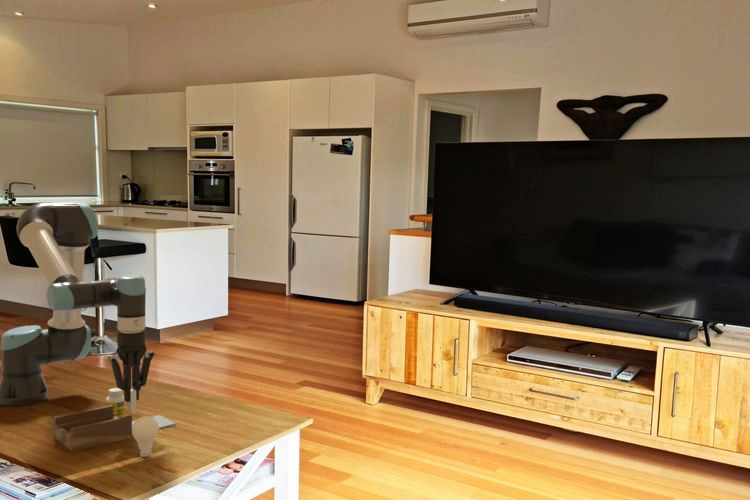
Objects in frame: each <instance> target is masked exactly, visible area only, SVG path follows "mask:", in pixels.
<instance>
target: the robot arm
mask: <svg viewBox="0 0 750 500" xmlns="http://www.w3.org/2000/svg"><path fill="white" fill-rule="evenodd" d="M98 223H99V222H98V218H97V213H96V212H95V210H94V208H93V207H92V206H91V205H90V204H88V203H82V202H38V203H35V204H32V205H30V206H29V207H27V208H25V210H24V211H23V212H22V213H21V215H20V216H19V218H18V220H17V224H16V233H17V237H18V239H19V241H20V243H21V244H22V245H23V246H24V247H26V248H28V250H29V251H30V253H31V255H32V257H33V259H34V260H35V262H36V264H37V266H38V268H39V270H40V271H41V273H42V275H43V277H44V279H45V281H46V282H47V284H48V287H47V289H46V300H47V305H48V308H50V309H51V310H52V317H51V318H50V319H49V320H47V327H46V328H44V329H42V327H41V326H40V325H38V324H37V325H36V324H33V325H32V324H31V325H24V326H18V327H14V328H11V329H9V330H6V331H5V332H4V333H3V334H2V336H1V338H0V339H1V341H0V343H1V344H0V354H1V355H0V358H1V379H0V406H3V407H4V406H5V407H20V406H27V405H28V406H29V405H34V404H38V403H40V402H43V401H45V400H47V399H48V398H49V389H48V386H47V383H46V382H45V378H44V376H43V372H42V371H43V365H51V364H57V363H65V362H74V361H76V360H81V359H83V358H85V357H86V356H87V355H88V353H89V351H90V349H91V346H92V335H91V334H92V331H91V328H90V327H89V325H88V324H86V320H84V319H83V318H82V309H88V308H89V309H90V308H102V307H111V306H113V307H117V308H116V309H117V311H116V316H117V317H116V318H117V321H116V322H117V323H116V324H117V325H116V328H117V331H118V332H117V334H116V335H117V336H116V338H117V339H116V340H117V341H116V342H117V349H116V351H115V354H114V355H112V356H109V357H108V358H107V361H108V362H109V363H110V365H111V369H112V371H113V376H114V381H115V384H116V388H119V389H121V390H123V396H124V400H125V403H126V412H128V413H130V415H131V414H136V413H137V401H139V399H140V390H141V389H142V387H145V386H146V385H147V379H148V377H149V372H150V366H151V363H152V360H153V358H154V356H155V353H154V352H153V351H151V350H148V349H147V345H146V331H145V329H146V298H147V296H146V293H147V288H146V279H145V278H144V277H143V276H141V275H121V276H119V277H118V278H117V277H114V278H110V277H108V278H104V279H103V280H92V281H91V280H90V281H84V268H85V267H84V265H85V252H86V251H85V250H86V249H87V248H88V247H89V246H90V245H91V239H92V240H93V239H95V238H96V237H97V236H98V233H99V224H98ZM120 360H121V363H122V367H123V368H122V369H123V371H122V369H121V366H120V363H119V362H120ZM141 361H142V363H141Z"/></svg>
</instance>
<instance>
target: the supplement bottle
mask: <svg viewBox="0 0 750 500" xmlns="http://www.w3.org/2000/svg"><path fill="white" fill-rule="evenodd" d="M109 405H112V406H113V413H115V416H116V417H118V418H120V417H125V416H126V401H125V400H124V390H121V389H119V388H117V387H113V388H110V389H108V396H107V397H106V398H105V406H109Z"/></svg>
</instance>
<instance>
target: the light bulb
mask: <svg viewBox="0 0 750 500" xmlns="http://www.w3.org/2000/svg"><path fill="white" fill-rule="evenodd" d="M152 417H153V416H150V415H144V416H141V417H139V418H137V419H136V420H134V421H135V422H134V424H133V427H132V434H133V436H132V437H134V440H135V441H136V443H137V446H138V449H139V457H141V458H143V459H148V458H149V457H151V456H152V448H153V445H154V441H155V439H156V438H157V436H158V434H159V430H160V429H159V425H158V422H157V421H156V420H155V419H154V418H152Z"/></svg>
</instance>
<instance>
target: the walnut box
mask: <svg viewBox="0 0 750 500" xmlns="http://www.w3.org/2000/svg"><path fill="white" fill-rule="evenodd" d="M132 421H133V416H132V415H131V414H129V415H125V417H120V418H118V417H116V416H115V413H113V406H112V405H109V406H106V405H105V406H101V407H96V408H92V409H91V408H90V409H86V410H80V411H75V412H71V413H67V414H62V415H57V416H54V417H53V423H54V424H53V428H54V429H53V438H54V440H55V441H58V443H60V444H62V446H64V447H65V448H67V449H68V450H69V451H71V452H72V453H75V452H79V451H84V450H87V449H92V448H96V447H100V446H103V445H108V444H112V443H116V442H119V441H124V440H128V439H132V438H133V436H132Z"/></svg>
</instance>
